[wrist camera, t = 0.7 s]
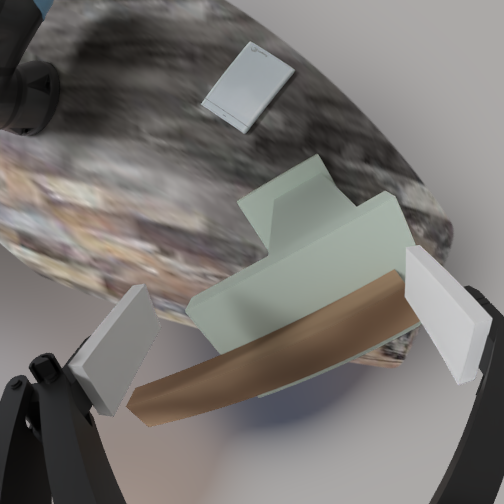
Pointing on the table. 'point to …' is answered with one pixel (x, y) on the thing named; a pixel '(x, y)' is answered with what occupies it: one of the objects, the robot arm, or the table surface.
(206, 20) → the table surface
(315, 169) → the sage stand
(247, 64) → the hard drive
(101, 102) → the table surface
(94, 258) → the table surface
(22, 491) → the robot arm
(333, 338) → the walnut bar
